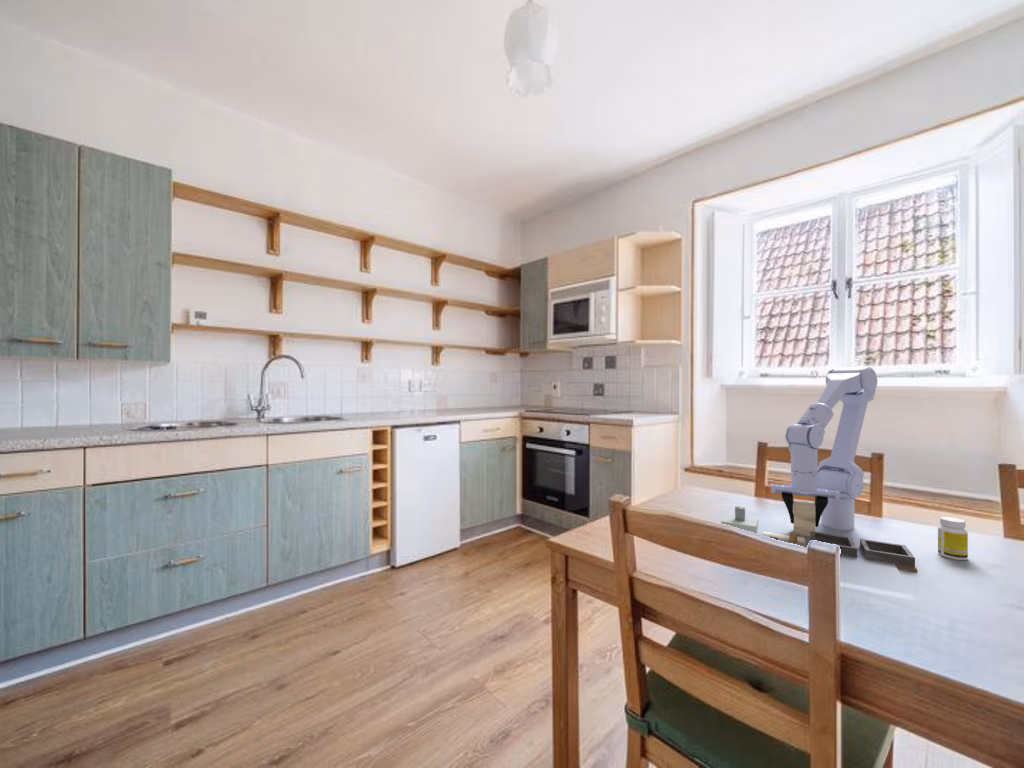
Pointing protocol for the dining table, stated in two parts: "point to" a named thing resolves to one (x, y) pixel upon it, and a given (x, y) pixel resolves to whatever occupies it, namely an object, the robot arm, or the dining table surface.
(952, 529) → the supplement bottle
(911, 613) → the dining table surface
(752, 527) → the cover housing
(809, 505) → the maple peg
